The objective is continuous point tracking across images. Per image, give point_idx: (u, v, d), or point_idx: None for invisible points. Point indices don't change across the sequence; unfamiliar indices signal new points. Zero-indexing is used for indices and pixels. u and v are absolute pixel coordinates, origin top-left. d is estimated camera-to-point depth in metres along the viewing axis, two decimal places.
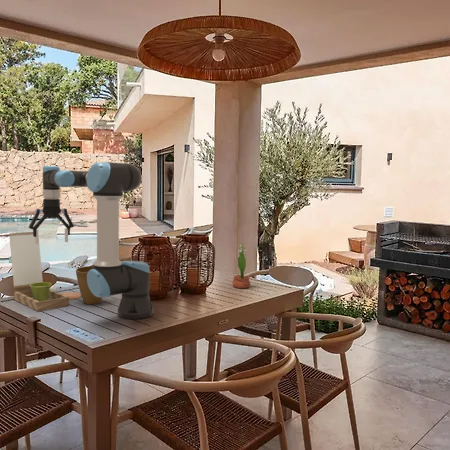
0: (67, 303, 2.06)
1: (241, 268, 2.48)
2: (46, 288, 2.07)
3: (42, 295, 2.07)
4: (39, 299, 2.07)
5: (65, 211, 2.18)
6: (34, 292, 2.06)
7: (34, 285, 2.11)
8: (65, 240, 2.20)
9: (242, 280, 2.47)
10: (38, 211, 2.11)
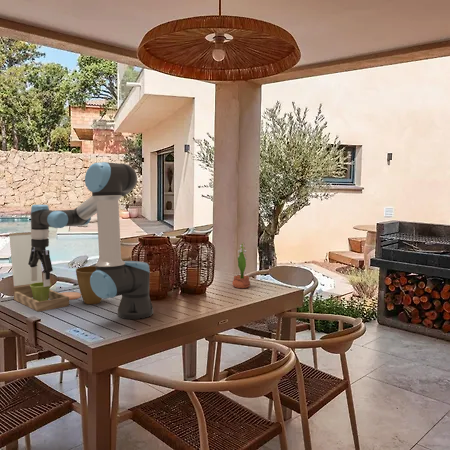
0: (67, 303, 2.06)
1: (241, 268, 2.48)
2: (46, 288, 2.07)
3: (42, 295, 2.07)
4: (39, 299, 2.07)
5: (43, 253, 2.03)
6: (34, 292, 2.06)
7: (34, 285, 2.11)
8: None
9: (242, 280, 2.47)
10: (31, 249, 2.11)
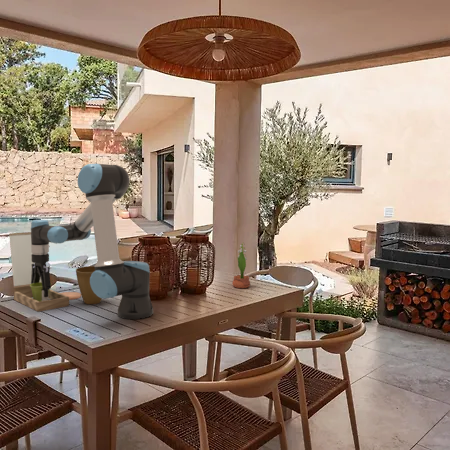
0: (67, 303, 2.06)
1: (241, 268, 2.48)
2: None
3: None
4: (39, 299, 2.07)
5: (43, 270, 2.04)
6: (34, 292, 2.06)
7: (34, 285, 2.11)
8: None
9: (242, 280, 2.47)
10: (32, 266, 2.12)
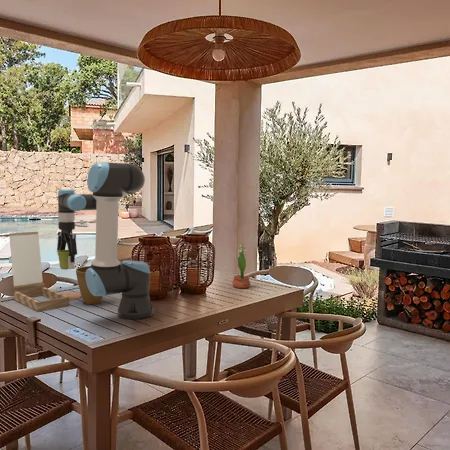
0: (67, 303, 2.06)
1: (241, 268, 2.48)
2: None
3: None
4: (66, 264, 2.17)
5: (70, 237, 2.14)
6: (61, 258, 2.16)
7: (60, 252, 2.21)
8: None
9: (242, 280, 2.47)
10: (58, 234, 2.22)
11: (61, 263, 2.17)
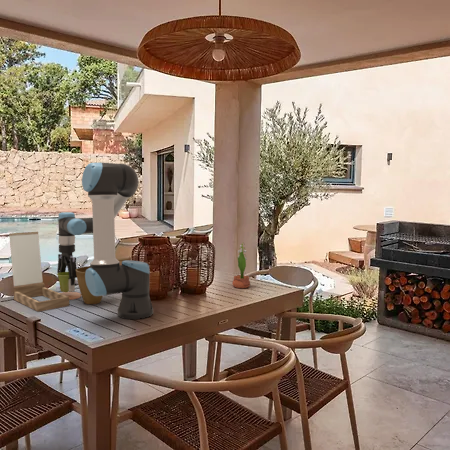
0: (67, 303, 2.06)
1: (241, 268, 2.48)
2: None
3: (68, 284, 2.18)
4: (66, 287, 2.18)
5: (70, 260, 2.15)
6: (61, 281, 2.17)
7: (60, 274, 2.23)
8: None
9: (242, 280, 2.47)
10: (58, 256, 2.23)
11: (61, 286, 2.18)
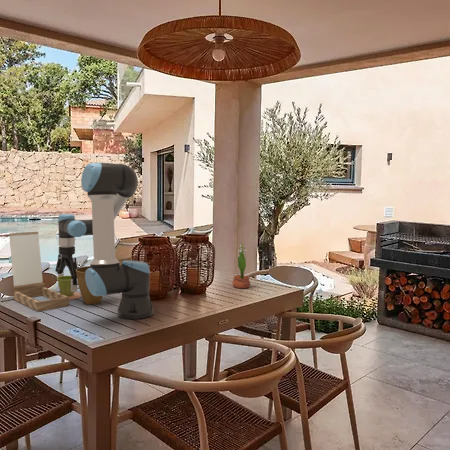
0: (67, 303, 2.06)
1: (241, 268, 2.48)
2: None
3: (68, 288, 2.18)
4: (66, 292, 2.18)
5: (70, 260, 2.15)
6: (61, 285, 2.18)
7: (60, 278, 2.23)
8: None
9: (242, 280, 2.47)
10: (58, 256, 2.23)
11: (61, 290, 2.18)
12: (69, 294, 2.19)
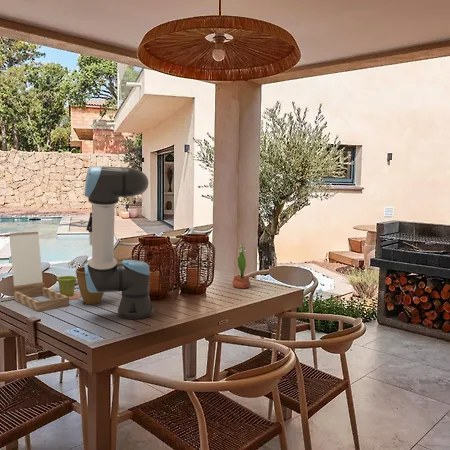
0: (67, 303, 2.06)
1: (241, 268, 2.48)
2: (72, 281, 2.19)
3: (68, 288, 2.18)
4: (66, 291, 2.18)
5: None
6: (61, 285, 2.18)
7: (60, 278, 2.23)
8: None
9: (242, 280, 2.47)
10: (90, 214, 2.25)
11: (61, 290, 2.18)
12: (69, 294, 2.19)
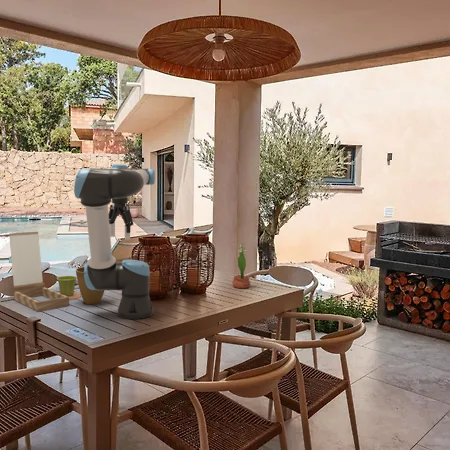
0: (67, 303, 2.06)
1: (241, 268, 2.48)
2: (72, 281, 2.19)
3: (68, 288, 2.18)
4: (66, 292, 2.18)
5: (124, 208, 2.20)
6: (61, 285, 2.18)
7: (60, 278, 2.23)
8: None
9: (242, 280, 2.47)
10: (110, 207, 2.28)
11: (61, 290, 2.18)
12: (69, 294, 2.19)
